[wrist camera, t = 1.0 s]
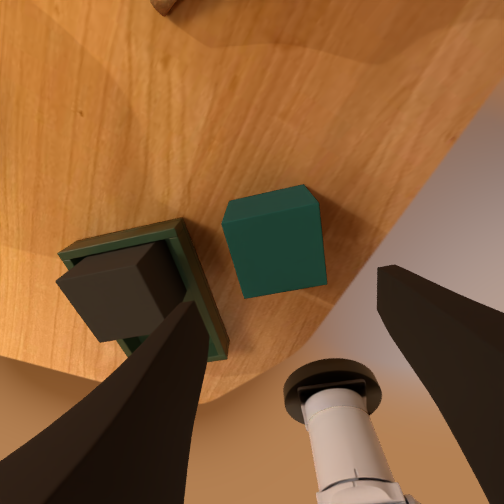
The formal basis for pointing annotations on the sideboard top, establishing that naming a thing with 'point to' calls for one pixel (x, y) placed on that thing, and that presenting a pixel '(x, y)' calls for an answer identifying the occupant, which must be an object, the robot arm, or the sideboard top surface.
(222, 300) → the sideboard top surface
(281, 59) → the sideboard top surface
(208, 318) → the frame
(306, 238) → the teal green block
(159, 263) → the dark brown block
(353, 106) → the sideboard top surface
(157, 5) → the figurine
